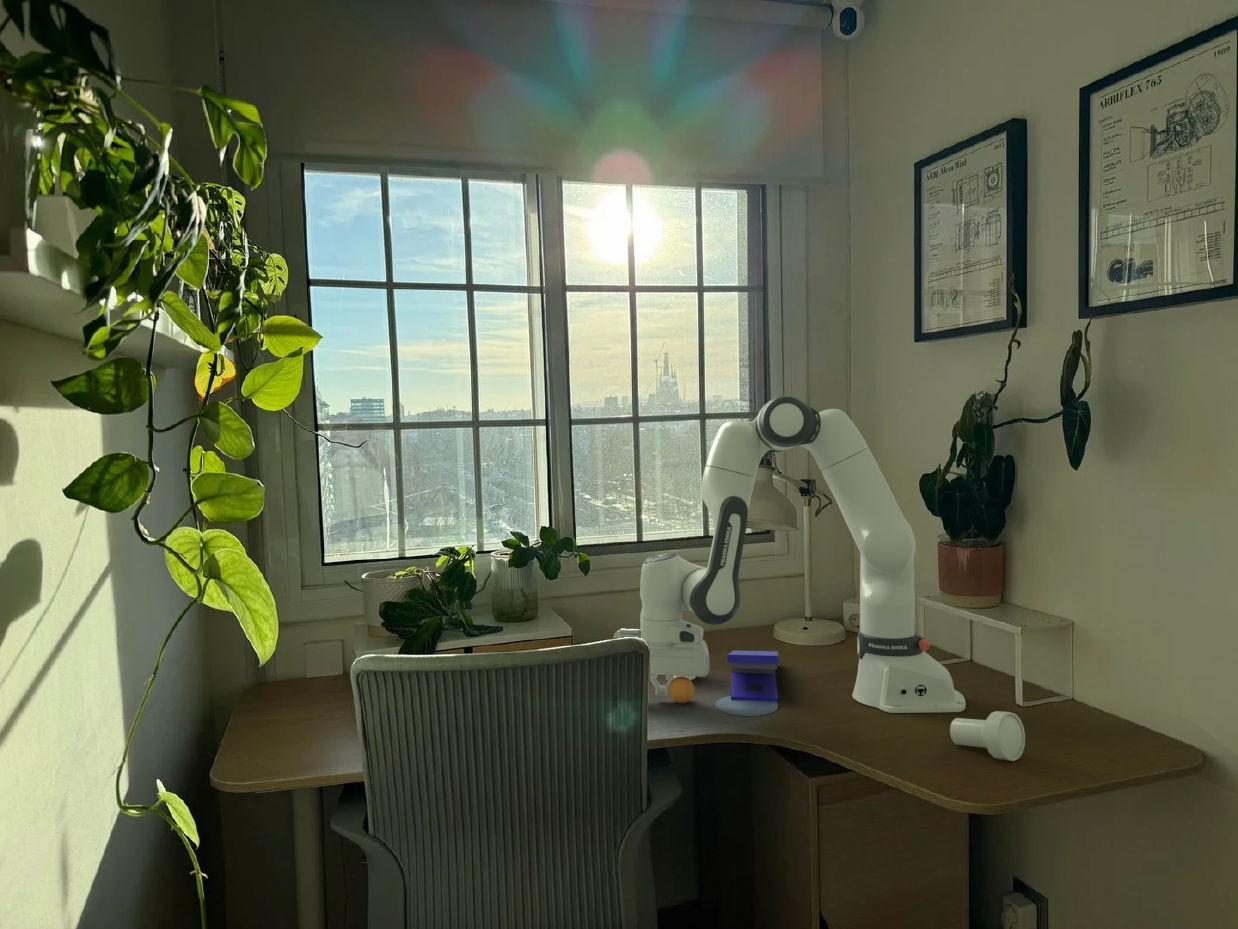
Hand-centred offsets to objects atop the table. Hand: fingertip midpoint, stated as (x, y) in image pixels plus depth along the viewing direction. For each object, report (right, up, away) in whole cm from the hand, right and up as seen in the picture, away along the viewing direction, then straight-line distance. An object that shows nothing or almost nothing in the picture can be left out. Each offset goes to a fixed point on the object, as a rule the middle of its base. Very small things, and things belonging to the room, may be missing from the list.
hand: (661, 694), depth 185 cm
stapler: (+22, -1, +13) cm, 25 cm away
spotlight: (+56, -3, -31) cm, 64 cm away
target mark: (+17, -1, -4) cm, 18 cm away
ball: (+4, +1, -1) cm, 4 cm away
